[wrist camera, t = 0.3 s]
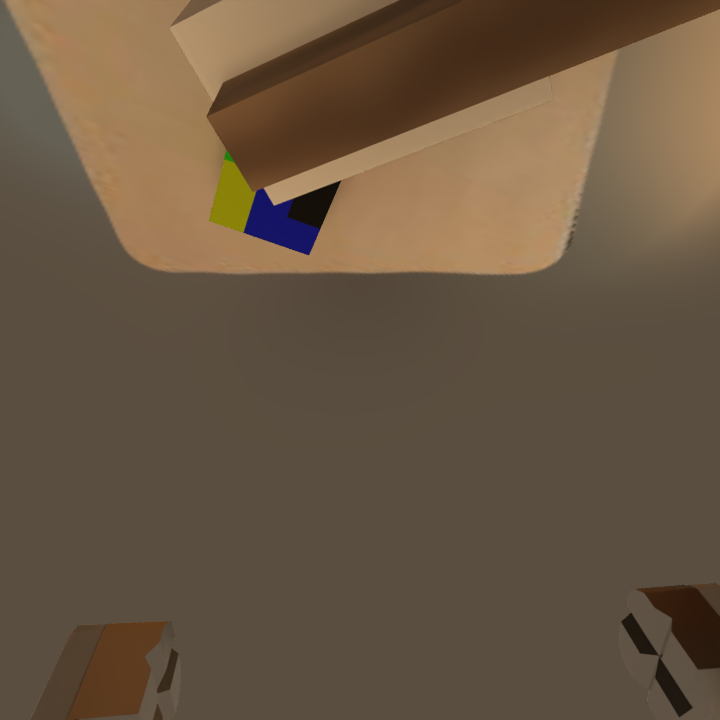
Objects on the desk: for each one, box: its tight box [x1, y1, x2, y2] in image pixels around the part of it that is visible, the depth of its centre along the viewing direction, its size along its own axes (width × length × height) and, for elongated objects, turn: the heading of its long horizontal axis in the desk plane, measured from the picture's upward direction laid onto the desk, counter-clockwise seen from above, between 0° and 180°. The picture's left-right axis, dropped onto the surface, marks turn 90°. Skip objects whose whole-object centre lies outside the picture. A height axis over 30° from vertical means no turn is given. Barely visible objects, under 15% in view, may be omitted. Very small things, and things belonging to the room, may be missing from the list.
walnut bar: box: [207, 0, 720, 192], centre depth 23 cm, size 4×24×4 cm, turn 112°
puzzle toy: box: [209, 151, 341, 255], centre depth 53 cm, size 10×10×10 cm
